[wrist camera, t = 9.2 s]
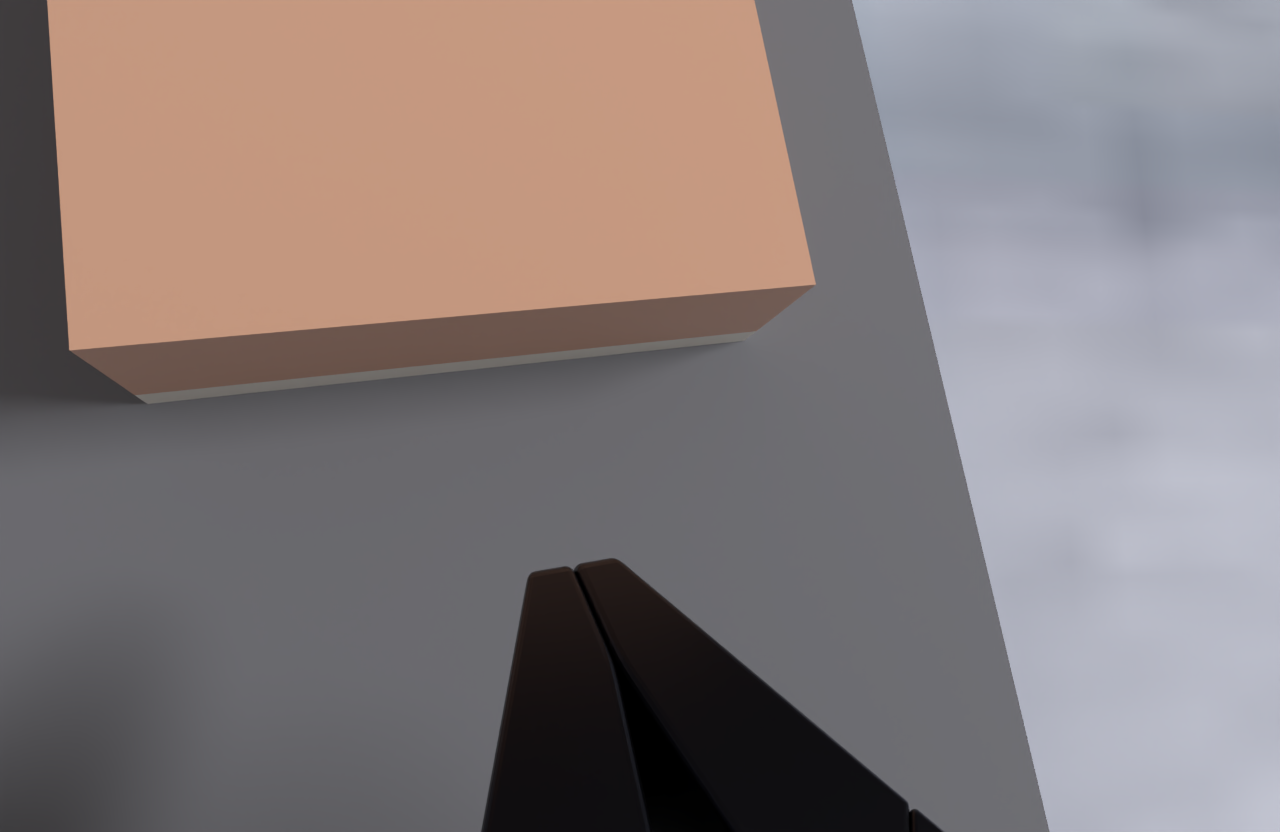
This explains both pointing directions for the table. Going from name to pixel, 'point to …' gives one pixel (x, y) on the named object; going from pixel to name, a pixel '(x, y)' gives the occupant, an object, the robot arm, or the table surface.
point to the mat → (484, 527)
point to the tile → (412, 186)
